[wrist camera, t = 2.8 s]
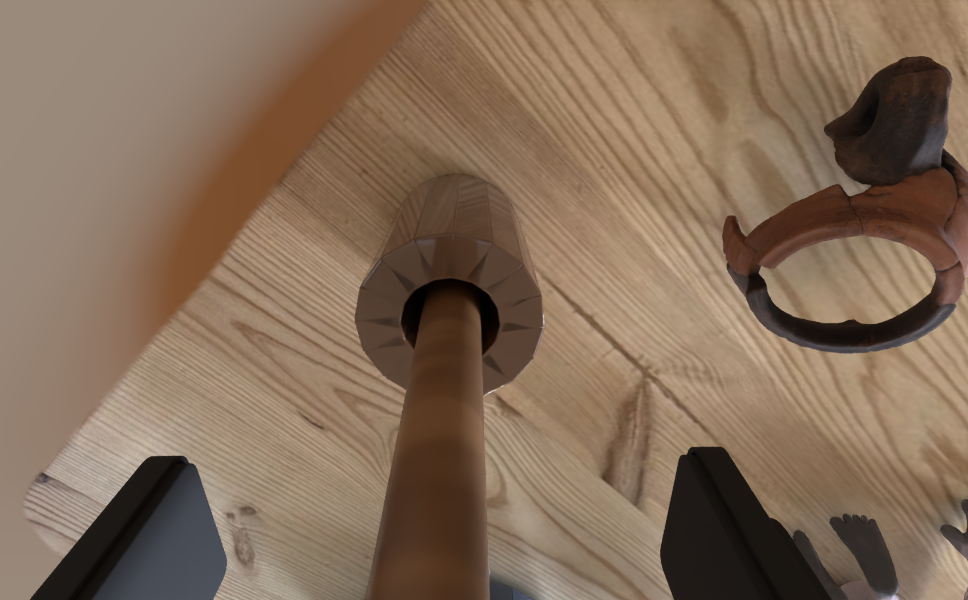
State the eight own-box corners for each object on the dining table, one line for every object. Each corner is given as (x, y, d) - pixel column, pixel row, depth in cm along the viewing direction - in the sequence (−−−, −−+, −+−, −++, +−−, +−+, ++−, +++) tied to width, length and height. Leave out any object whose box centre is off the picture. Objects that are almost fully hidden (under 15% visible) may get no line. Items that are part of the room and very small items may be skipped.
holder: (368, 215, 24) (316, 295, 16) (479, 148, 23) (483, 197, 15) (438, 314, 27) (423, 426, 19) (542, 257, 25) (575, 351, 17)
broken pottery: (923, 256, 26) (962, 380, 21) (723, 252, 30) (714, 355, 25) (1021, 1, 19) (1120, 97, 13) (735, 41, 23) (725, 127, 18)
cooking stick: (428, 233, 24) (300, 748, 6) (464, 212, 24) (440, 696, 6) (450, 267, 25) (394, 810, 7) (485, 247, 25) (523, 770, 7)
